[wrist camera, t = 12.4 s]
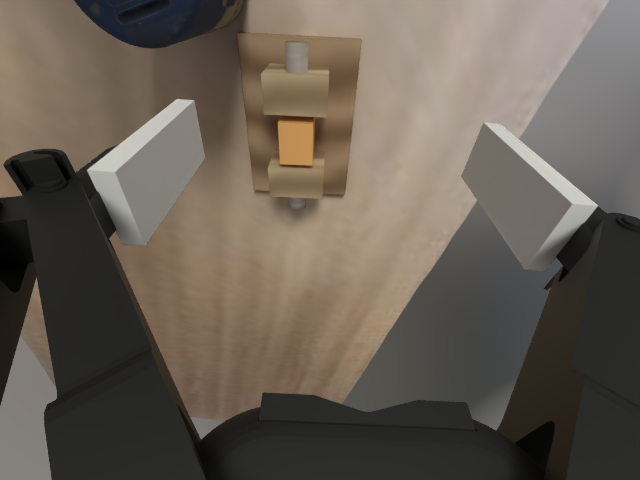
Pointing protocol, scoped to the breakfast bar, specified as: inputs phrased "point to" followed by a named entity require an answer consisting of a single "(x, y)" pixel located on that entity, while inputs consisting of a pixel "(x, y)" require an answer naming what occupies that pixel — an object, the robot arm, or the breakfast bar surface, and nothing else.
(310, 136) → the orange rectangular block
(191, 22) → the canister
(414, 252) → the breakfast bar surface
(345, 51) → the shaft bench
